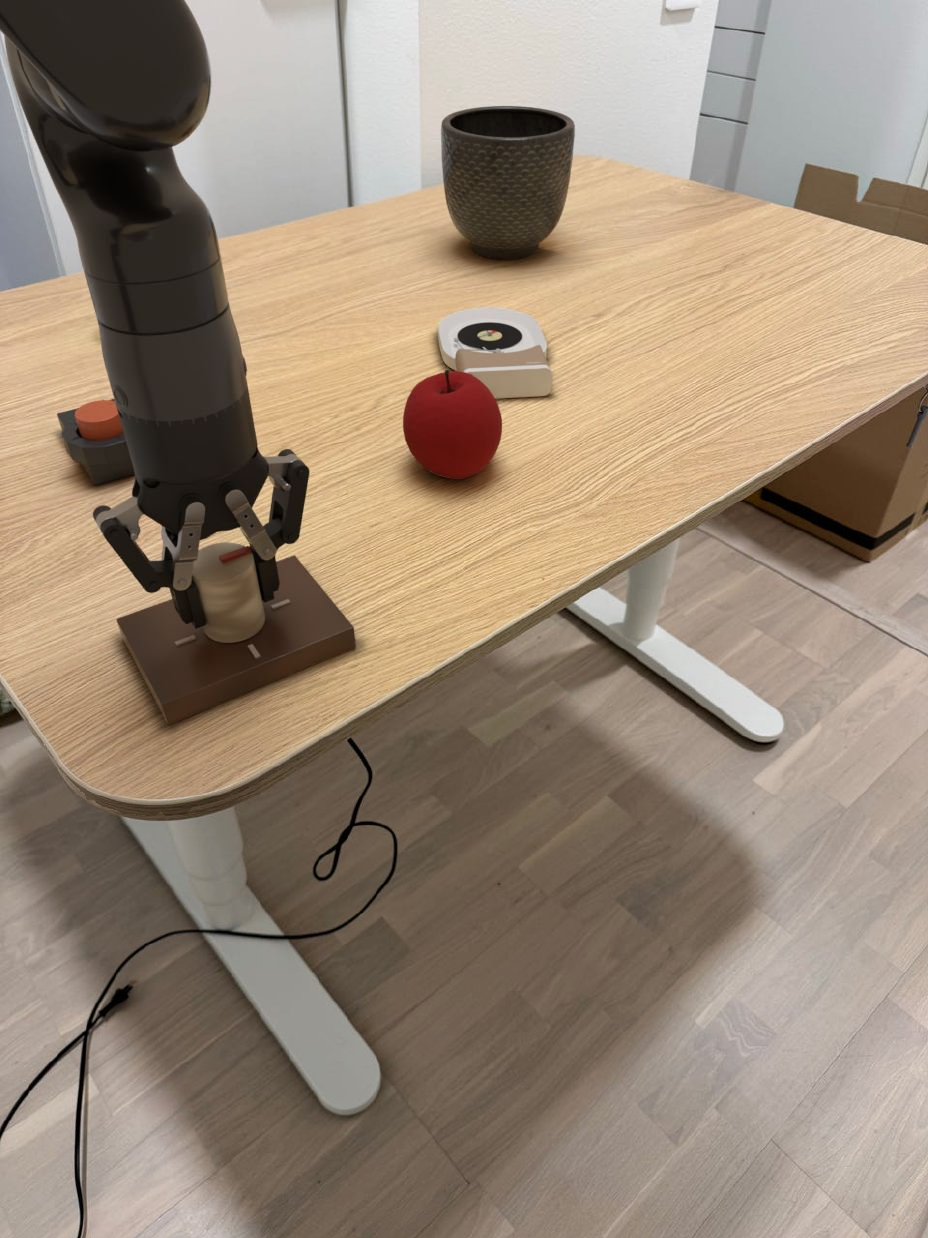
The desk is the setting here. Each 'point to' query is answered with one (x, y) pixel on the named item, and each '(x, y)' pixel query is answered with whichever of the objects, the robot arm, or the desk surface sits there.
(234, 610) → the dial
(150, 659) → the dial panel
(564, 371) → the desk surface
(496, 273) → the desk surface
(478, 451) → the apple
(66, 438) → the button box
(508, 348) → the record player
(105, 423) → the button
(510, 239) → the planter
